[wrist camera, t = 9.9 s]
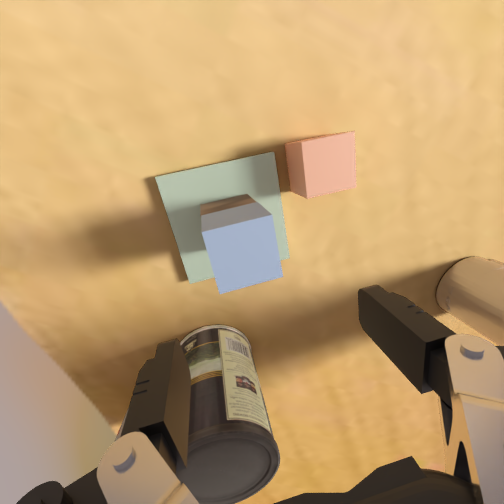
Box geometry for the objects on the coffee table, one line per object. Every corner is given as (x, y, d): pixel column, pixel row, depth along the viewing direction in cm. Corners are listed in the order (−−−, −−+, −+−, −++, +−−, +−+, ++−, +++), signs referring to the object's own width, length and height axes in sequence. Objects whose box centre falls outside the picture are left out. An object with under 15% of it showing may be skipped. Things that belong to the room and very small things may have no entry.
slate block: (257, 201, 23) (272, 214, 18) (267, 253, 25) (283, 276, 20) (201, 215, 22) (201, 232, 18) (215, 266, 24) (219, 294, 20)
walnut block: (247, 193, 27) (256, 202, 23) (256, 237, 29) (266, 253, 25) (200, 204, 27) (200, 215, 22) (212, 248, 29) (214, 267, 24)
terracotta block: (329, 134, 28) (354, 131, 23) (332, 181, 30) (356, 187, 25) (284, 143, 27) (301, 142, 23) (290, 191, 29) (307, 198, 25)
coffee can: (171, 384, 36) (155, 517, 23) (179, 321, 32) (165, 434, 19) (244, 384, 38) (266, 504, 25) (258, 326, 35) (293, 429, 22)
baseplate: (271, 151, 27) (274, 151, 26) (287, 255, 32) (289, 258, 31) (156, 176, 26) (154, 177, 25) (190, 279, 31) (189, 283, 30)
